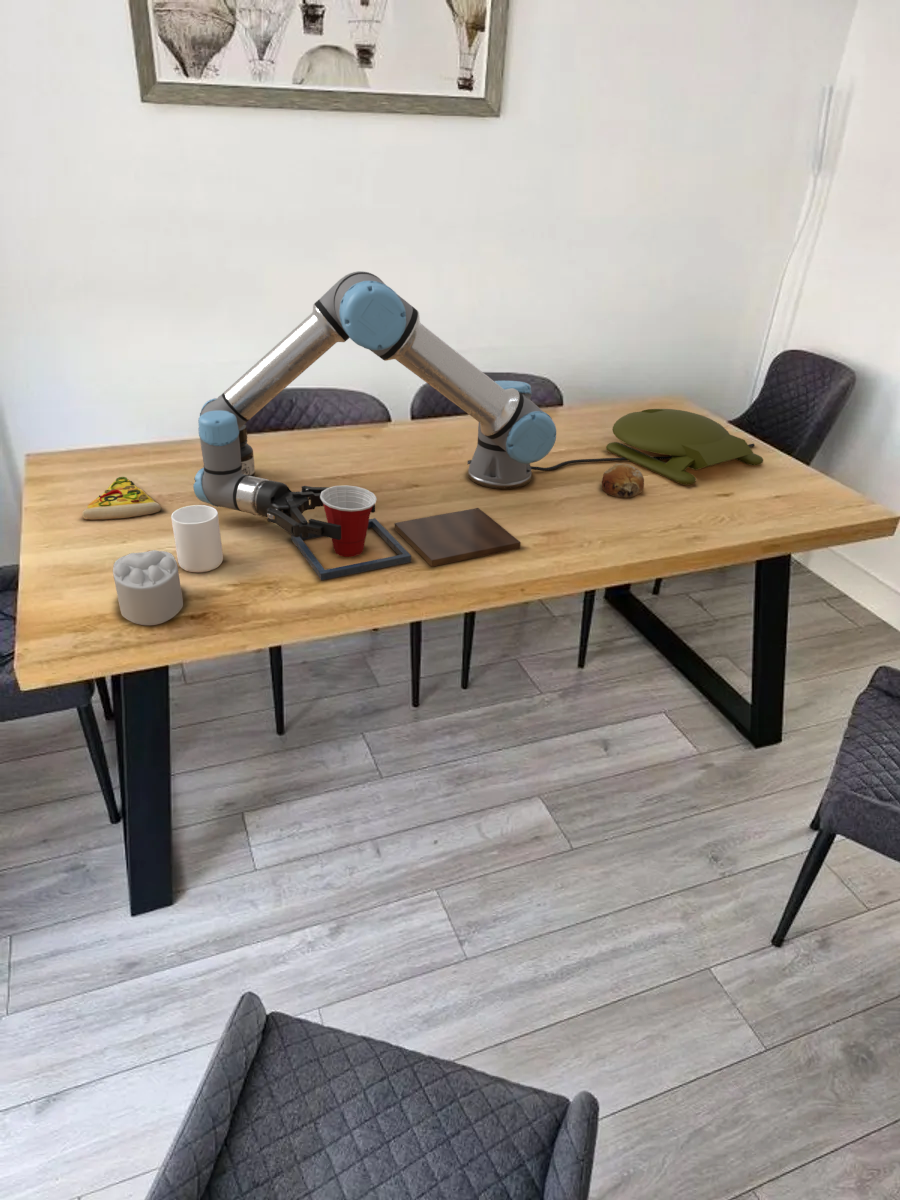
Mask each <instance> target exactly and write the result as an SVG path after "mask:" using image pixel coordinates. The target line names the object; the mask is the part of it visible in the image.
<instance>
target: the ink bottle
mask: <svg viewBox="0 0 900 1200" xmlns="http://www.w3.org/2000/svg"><path fill="white" fill-rule="evenodd" d="M239 442H240V454H241V463H242V473H243V474H245V475H248V476H253V477H255V476H256V467H255V457H254V449H253V448H252V446H251V445H250V444H249V443H248V430H247V425H246V423H245V424H244V425H243V426H242V427H241V428H240V429H239Z"/></svg>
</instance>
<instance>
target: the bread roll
mask: <svg viewBox="0 0 900 1200" xmlns="http://www.w3.org/2000/svg"><path fill="white" fill-rule="evenodd" d="M644 487H645V477H644V475H643V473H642V471H641V470H639V469H638V468H636V467H635V466H633V465H631V464H628V463H615V464H614V465H612V466H611V467H609V468H608V469H606V470H604V472H603V474H602V478H601V489H602V491H603V492H604V493H605V494H607V495H609V496H611V497H612V496H613V497H618V498H623V499H624V498H633V497H635V496H638V495H640V494H641V493H642V492H643V491H644Z"/></svg>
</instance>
